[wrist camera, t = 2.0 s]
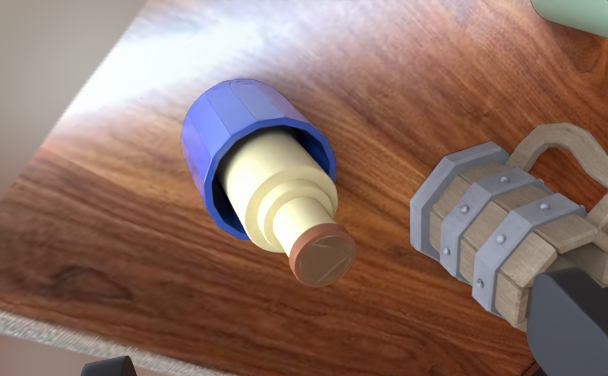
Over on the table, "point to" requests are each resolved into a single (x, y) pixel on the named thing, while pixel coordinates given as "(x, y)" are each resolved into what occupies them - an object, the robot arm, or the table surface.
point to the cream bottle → (287, 204)
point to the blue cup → (233, 126)
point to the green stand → (576, 14)
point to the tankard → (511, 219)
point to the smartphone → (535, 371)
